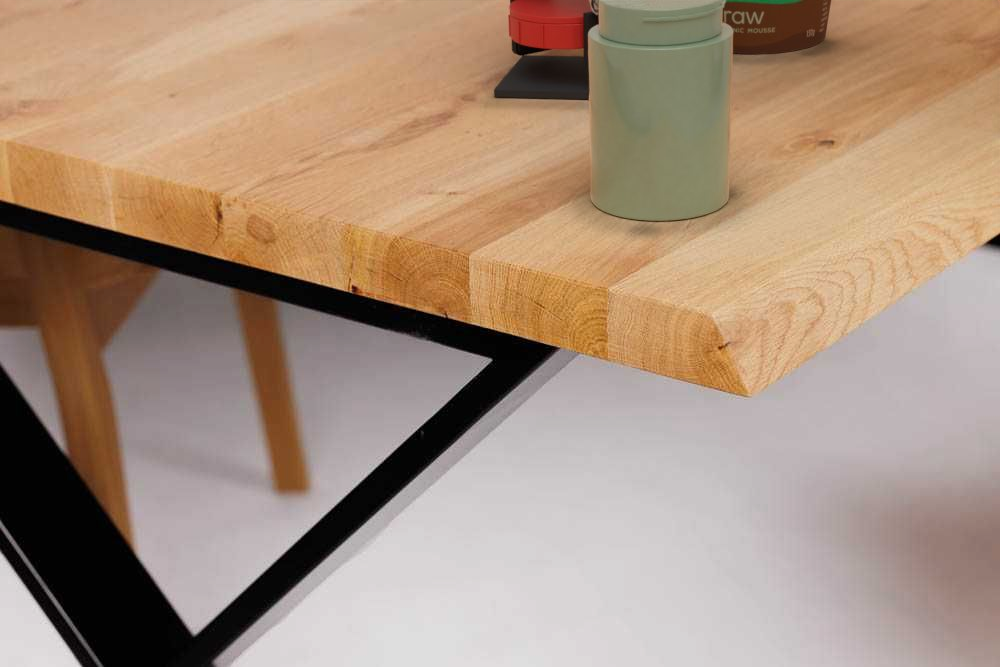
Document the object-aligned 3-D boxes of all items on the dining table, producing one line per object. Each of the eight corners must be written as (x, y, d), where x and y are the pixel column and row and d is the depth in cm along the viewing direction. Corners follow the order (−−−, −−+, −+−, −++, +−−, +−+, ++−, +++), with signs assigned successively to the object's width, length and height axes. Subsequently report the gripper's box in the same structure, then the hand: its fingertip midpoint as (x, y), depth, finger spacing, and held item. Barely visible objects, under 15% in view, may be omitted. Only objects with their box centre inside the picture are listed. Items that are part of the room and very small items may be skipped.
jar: (734, 176, 71) (740, -20, 67) (722, 224, 65) (727, 13, 61) (602, 172, 73) (600, -21, 69) (579, 218, 67) (575, 11, 63)
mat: (646, 64, 91) (646, 57, 91) (627, 100, 84) (627, 92, 84) (522, 62, 93) (522, 54, 93) (494, 97, 86) (493, 89, 86)
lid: (619, 50, 83) (619, 18, 82) (498, 48, 85) (497, 16, 84) (637, 21, 90) (637, -9, 89) (524, 20, 91) (523, -10, 90)
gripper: (718, -250, 75) (710, 83, 83) (536, -258, 89) (543, 28, 96) (600, -239, 72) (604, 106, 79) (430, -250, 85) (446, 47, 93)
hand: (571, 61), depth 88 cm, fingers closed on lid, 7 cm apart
